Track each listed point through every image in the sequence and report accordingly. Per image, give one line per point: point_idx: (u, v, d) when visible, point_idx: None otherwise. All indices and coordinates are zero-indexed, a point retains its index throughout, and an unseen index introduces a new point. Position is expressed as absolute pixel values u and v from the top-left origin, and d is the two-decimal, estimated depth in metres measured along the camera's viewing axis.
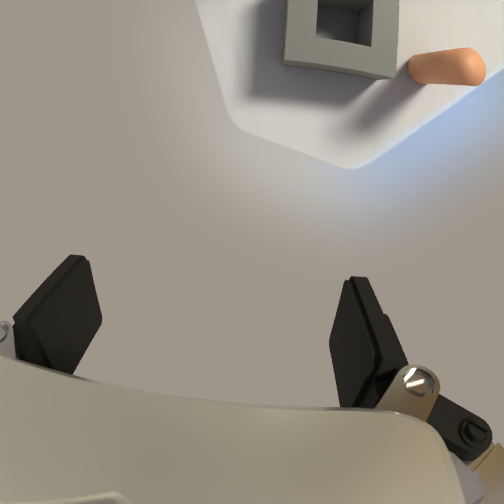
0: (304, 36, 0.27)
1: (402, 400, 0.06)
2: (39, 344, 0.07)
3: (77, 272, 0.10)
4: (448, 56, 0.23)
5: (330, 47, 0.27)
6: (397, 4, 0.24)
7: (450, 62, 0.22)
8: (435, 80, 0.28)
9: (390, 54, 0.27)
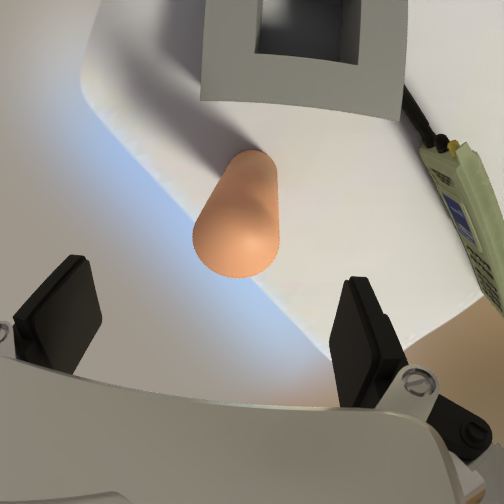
0: None
1: (402, 400, 0.06)
2: (39, 344, 0.07)
3: (77, 272, 0.10)
4: (252, 190, 0.15)
5: None
6: (357, 110, 0.17)
7: (234, 192, 0.15)
8: None
9: (246, 89, 0.17)
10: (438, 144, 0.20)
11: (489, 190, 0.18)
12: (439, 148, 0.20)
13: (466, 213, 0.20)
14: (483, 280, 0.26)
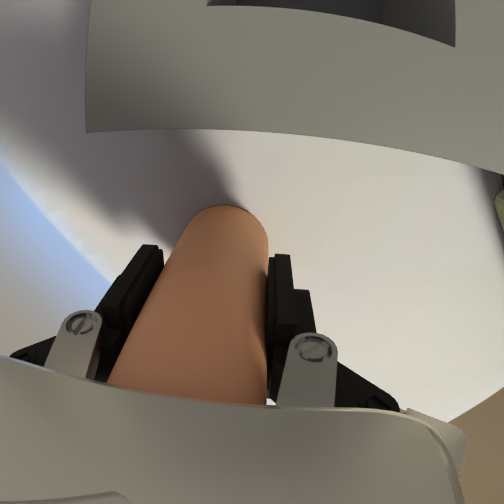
0: None
1: (304, 370, 0.07)
2: (127, 332, 0.09)
3: (155, 261, 0.11)
4: None
5: None
6: (450, 152, 0.07)
7: None
8: None
9: (186, 96, 0.07)
10: None
11: None
12: None
13: None
14: None
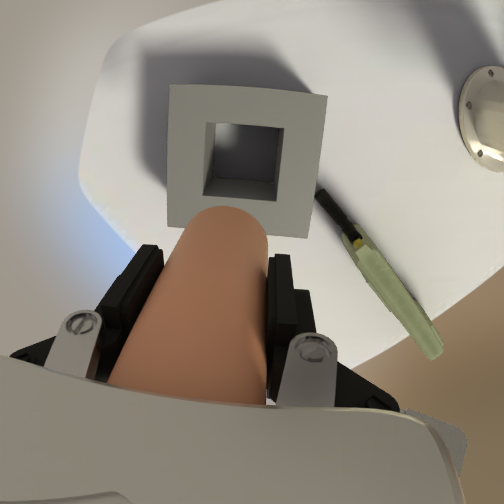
0: (204, 107, 0.23)
1: (304, 370, 0.07)
2: (127, 332, 0.09)
3: (154, 261, 0.11)
4: None
5: (192, 142, 0.24)
6: (275, 233, 0.27)
7: None
8: None
9: None
10: (349, 239, 0.30)
11: (389, 273, 0.29)
12: (350, 241, 0.30)
13: (372, 288, 0.31)
14: None
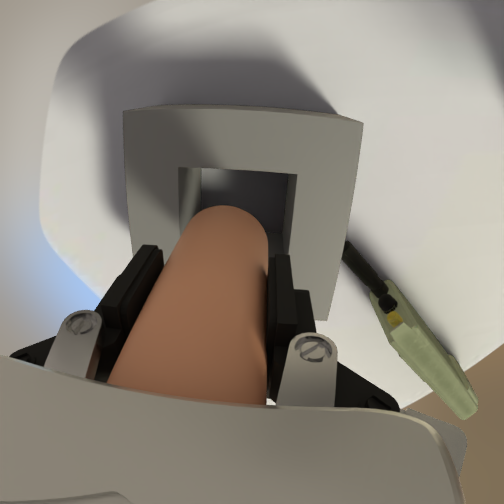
0: (175, 145, 0.15)
1: (304, 370, 0.07)
2: (127, 332, 0.09)
3: (154, 261, 0.11)
4: None
5: (160, 196, 0.16)
6: None
7: None
8: None
9: None
10: (381, 307, 0.22)
11: (428, 349, 0.21)
12: (382, 310, 0.22)
13: (406, 362, 0.23)
14: None
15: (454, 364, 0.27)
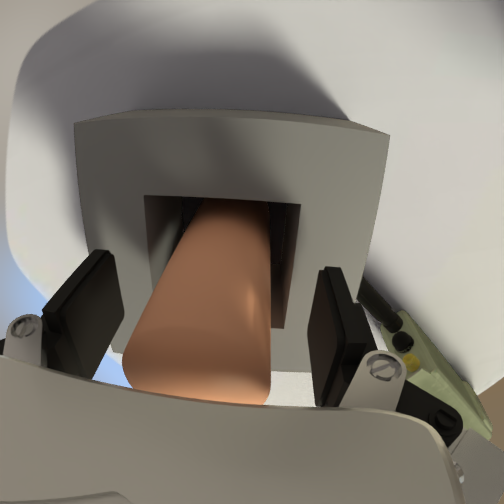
0: (138, 166, 0.11)
1: (370, 386, 0.06)
2: (68, 337, 0.08)
3: (103, 266, 0.10)
4: (221, 291, 0.08)
5: (124, 232, 0.13)
6: (281, 369, 0.16)
7: (188, 300, 0.08)
8: None
9: None
10: (395, 347, 0.18)
11: (447, 391, 0.17)
12: (396, 349, 0.19)
13: None
14: None
15: (469, 392, 0.24)
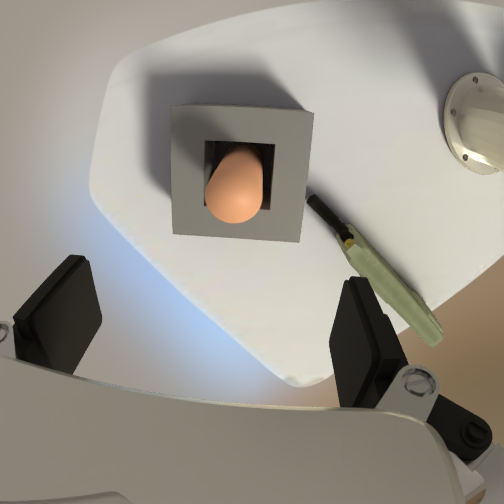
0: (203, 127, 0.26)
1: (402, 400, 0.06)
2: (39, 344, 0.07)
3: (77, 272, 0.10)
4: (244, 165, 0.23)
5: (193, 158, 0.27)
6: (269, 238, 0.30)
7: (232, 165, 0.22)
8: None
9: (200, 228, 0.30)
10: (341, 239, 0.33)
11: (380, 268, 0.31)
12: (343, 241, 0.33)
13: None
14: None
15: (416, 297, 0.38)
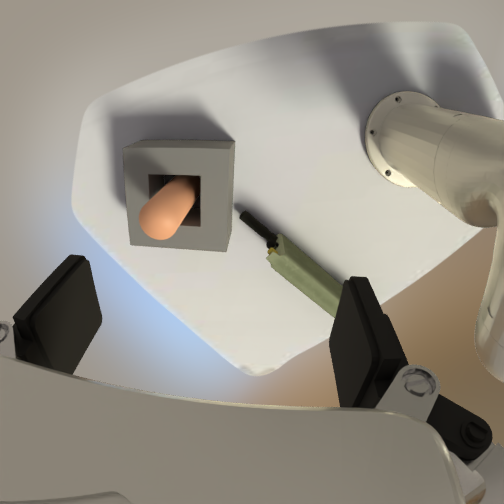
0: (146, 164, 0.33)
1: (402, 400, 0.06)
2: (39, 344, 0.07)
3: (77, 272, 0.10)
4: (167, 196, 0.30)
5: (140, 188, 0.35)
6: (202, 249, 0.38)
7: (158, 197, 0.30)
8: None
9: (149, 240, 0.38)
10: (267, 247, 0.40)
11: (300, 272, 0.38)
12: (269, 249, 0.40)
13: None
14: None
15: None
